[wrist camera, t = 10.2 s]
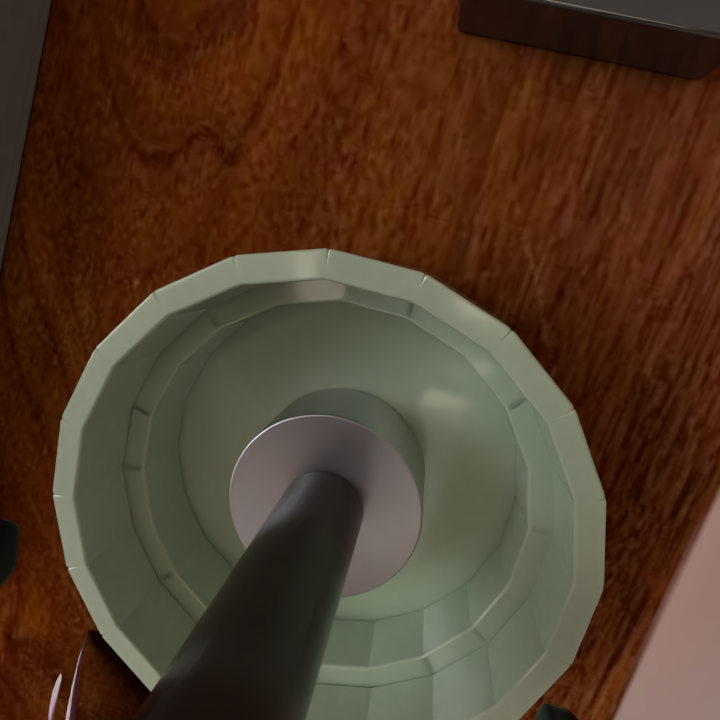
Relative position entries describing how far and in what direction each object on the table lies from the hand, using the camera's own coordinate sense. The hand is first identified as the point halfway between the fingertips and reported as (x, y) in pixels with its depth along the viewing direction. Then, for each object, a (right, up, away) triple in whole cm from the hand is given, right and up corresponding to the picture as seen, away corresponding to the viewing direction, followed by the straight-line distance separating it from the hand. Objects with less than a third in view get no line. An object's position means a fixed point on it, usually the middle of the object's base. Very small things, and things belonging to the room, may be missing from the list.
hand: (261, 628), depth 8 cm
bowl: (+1, +1, +7) cm, 7 cm away
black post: (+1, +1, +6) cm, 6 cm away
